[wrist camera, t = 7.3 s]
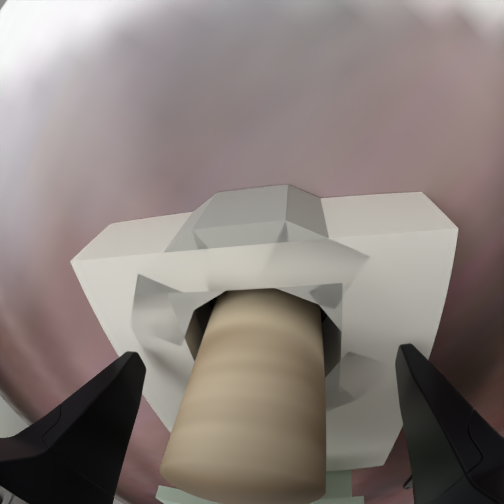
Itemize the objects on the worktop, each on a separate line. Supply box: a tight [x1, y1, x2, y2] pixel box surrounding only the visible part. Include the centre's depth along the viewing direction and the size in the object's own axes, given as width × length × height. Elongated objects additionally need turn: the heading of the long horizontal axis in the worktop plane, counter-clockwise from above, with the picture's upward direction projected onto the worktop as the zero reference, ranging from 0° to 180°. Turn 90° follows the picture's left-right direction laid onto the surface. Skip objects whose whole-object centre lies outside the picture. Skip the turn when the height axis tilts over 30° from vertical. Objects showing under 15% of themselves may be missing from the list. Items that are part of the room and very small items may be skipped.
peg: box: [159, 288, 326, 504], centre depth 9 cm, size 4×4×8 cm
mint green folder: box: [155, 469, 364, 504], centre depth 15 cm, size 6×10×7 cm, turn 99°
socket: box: [70, 184, 458, 471], centre depth 13 cm, size 17×12×3 cm
